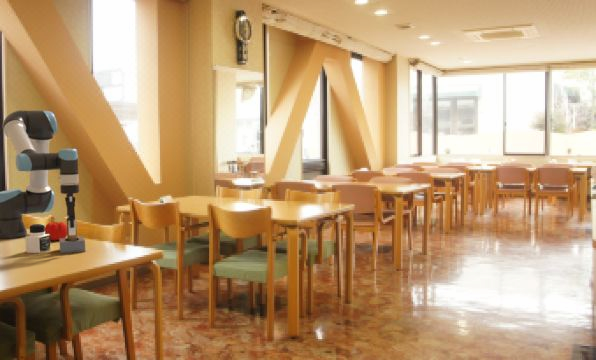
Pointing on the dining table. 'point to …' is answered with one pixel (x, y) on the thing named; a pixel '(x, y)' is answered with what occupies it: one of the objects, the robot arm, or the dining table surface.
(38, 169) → the robot arm
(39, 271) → the dining table surface
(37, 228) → the medicine bottle
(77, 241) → the socket
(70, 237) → the peg
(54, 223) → the red bell pepper
